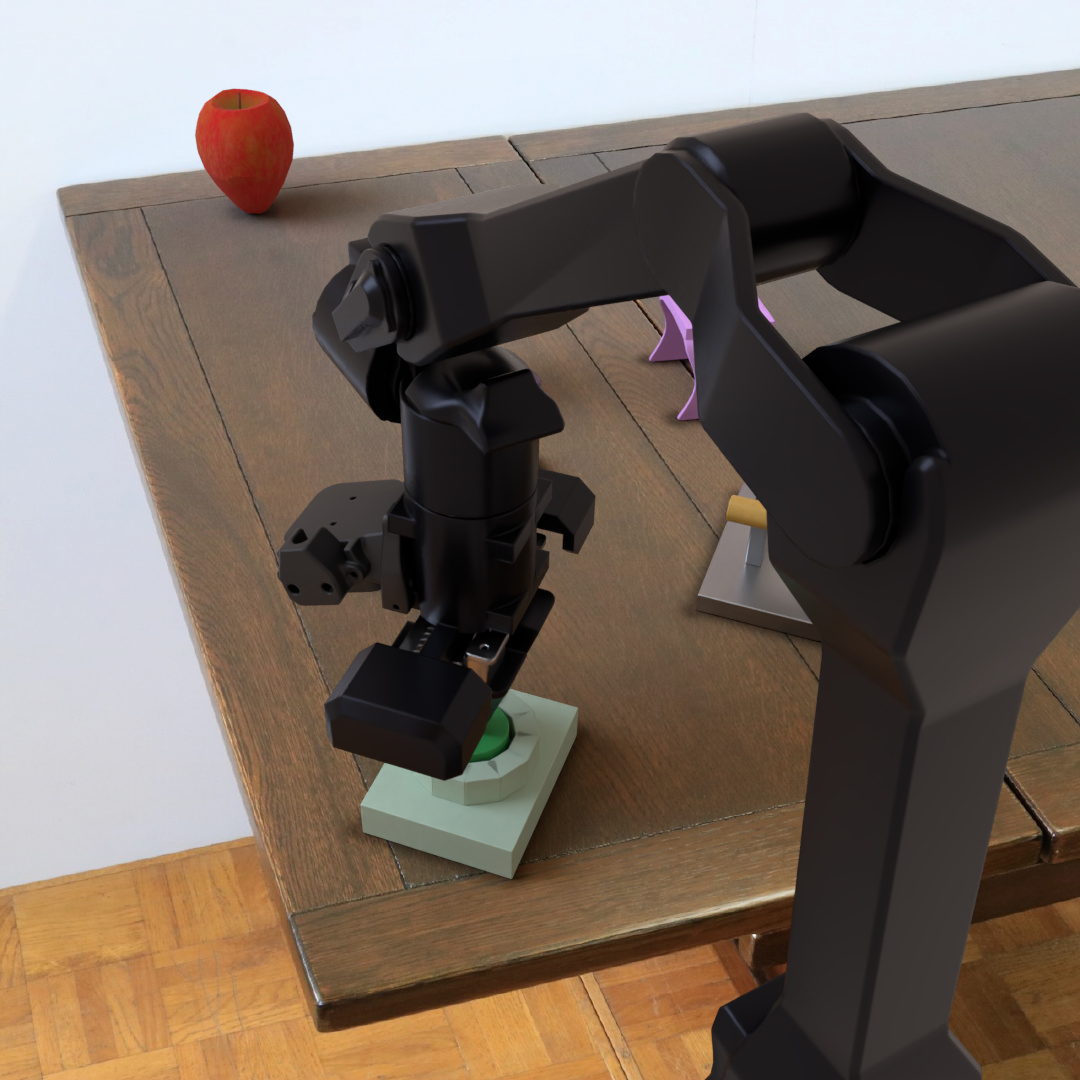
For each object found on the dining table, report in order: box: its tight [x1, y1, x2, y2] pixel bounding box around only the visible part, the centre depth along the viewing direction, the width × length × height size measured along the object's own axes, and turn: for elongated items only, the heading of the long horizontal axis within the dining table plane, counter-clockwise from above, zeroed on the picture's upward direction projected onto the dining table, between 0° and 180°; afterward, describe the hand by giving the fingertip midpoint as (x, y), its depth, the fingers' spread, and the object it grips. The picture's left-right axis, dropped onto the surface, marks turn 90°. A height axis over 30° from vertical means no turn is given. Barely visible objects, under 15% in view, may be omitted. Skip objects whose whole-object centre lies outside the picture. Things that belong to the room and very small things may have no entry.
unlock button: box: [469, 708, 509, 763], centre depth 67 cm, size 4×4×2 cm
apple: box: [194, 88, 295, 215], centre depth 115 cm, size 9×8×11 cm
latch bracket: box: [695, 481, 821, 643], centre depth 80 cm, size 12×9×10 cm
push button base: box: [360, 688, 579, 880], centre depth 68 cm, size 10×8×4 cm
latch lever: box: [725, 494, 767, 530], centre depth 74 cm, size 11×6×2 cm, turn 160°
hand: (473, 726), depth 66 cm, fingers closed, pressing on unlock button
